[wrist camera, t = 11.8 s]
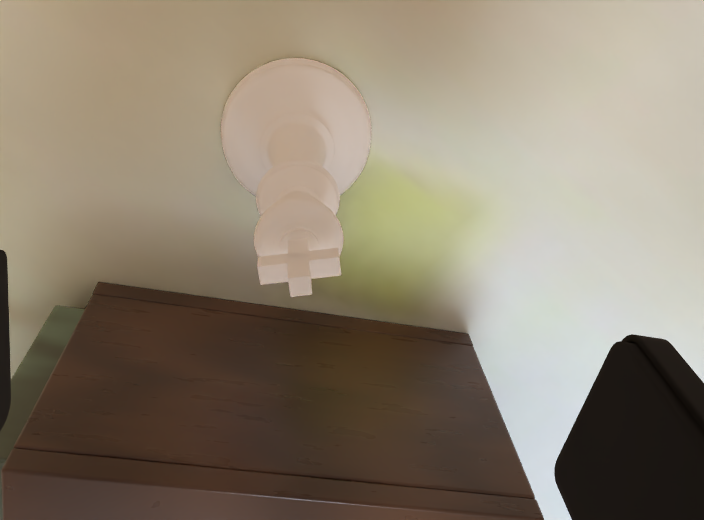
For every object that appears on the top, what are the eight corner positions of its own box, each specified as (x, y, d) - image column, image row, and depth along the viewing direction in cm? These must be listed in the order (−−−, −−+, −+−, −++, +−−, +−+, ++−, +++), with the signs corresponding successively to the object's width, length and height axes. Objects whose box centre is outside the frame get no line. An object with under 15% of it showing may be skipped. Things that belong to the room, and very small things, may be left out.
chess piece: (376, 194, 23) (427, 371, 14) (235, 210, 23) (199, 398, 14) (365, 49, 21) (417, 153, 12) (208, 66, 21) (144, 184, 12)
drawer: (-57, 521, 27) (-163, 708, 21) (-77, 286, 22) (-226, 438, 16) (350, 553, 30) (365, 727, 24) (412, 351, 25) (453, 503, 19)
